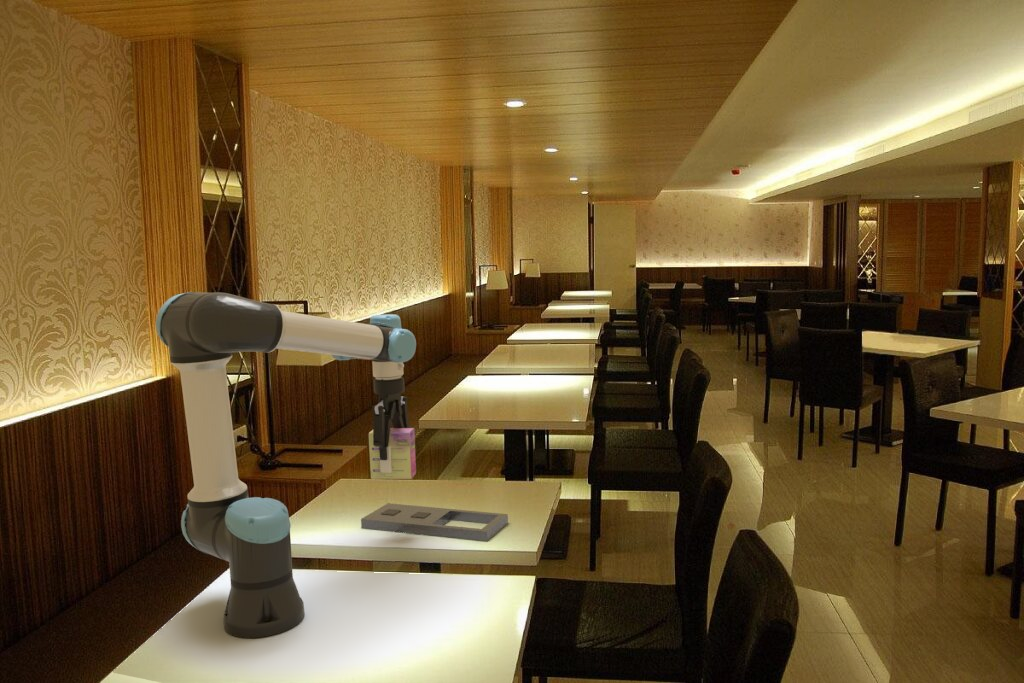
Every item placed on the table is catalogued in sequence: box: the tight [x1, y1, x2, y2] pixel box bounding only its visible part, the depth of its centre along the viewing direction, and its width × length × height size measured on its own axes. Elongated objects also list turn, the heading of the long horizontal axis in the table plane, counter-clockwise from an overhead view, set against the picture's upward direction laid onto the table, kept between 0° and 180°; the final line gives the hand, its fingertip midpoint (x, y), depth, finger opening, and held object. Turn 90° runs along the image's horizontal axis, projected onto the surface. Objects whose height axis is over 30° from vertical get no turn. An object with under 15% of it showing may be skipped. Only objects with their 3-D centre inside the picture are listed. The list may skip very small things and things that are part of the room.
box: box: [368, 427, 417, 480], centre depth 199 cm, size 10×6×12 cm, turn 84°
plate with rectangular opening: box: [360, 502, 509, 542], centre depth 210 cm, size 14×36×3 cm, turn 69°
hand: (393, 468), depth 199 cm, fingers closed on box, 7 cm apart
